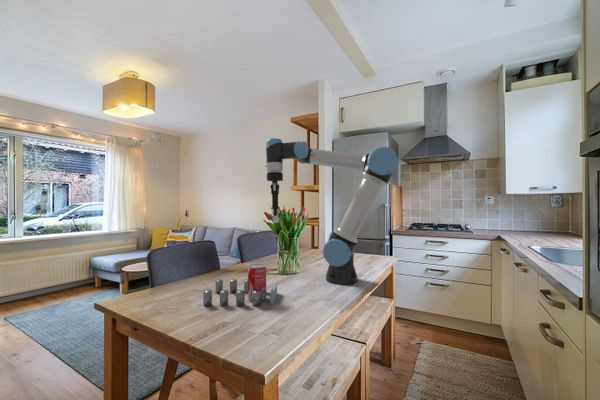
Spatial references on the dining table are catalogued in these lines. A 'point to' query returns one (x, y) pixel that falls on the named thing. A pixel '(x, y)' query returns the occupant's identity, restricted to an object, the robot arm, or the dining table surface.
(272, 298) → the stop rail
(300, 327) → the dining table surface
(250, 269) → the soda can
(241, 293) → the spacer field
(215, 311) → the dining table surface
